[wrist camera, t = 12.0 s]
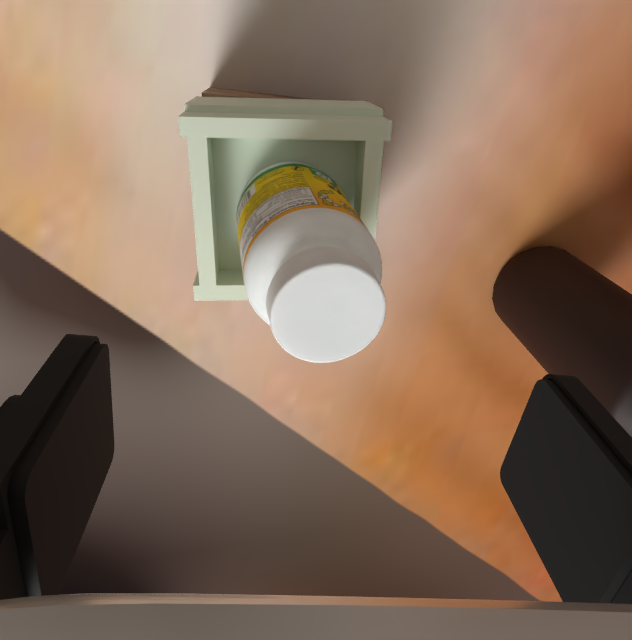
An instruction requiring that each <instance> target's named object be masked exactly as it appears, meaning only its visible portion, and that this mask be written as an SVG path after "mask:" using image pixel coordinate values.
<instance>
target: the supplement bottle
mask: <svg viewBox="0 0 632 640" xmlns="http://www.w3.org/2000/svg"><path fill="white" fill-rule="evenodd" d="M236 228H237V235H238V242H239V248H240V256H241V265H242V273H243V280H244V286H245V290H246V294H247V297H248V299H249V301H250V303H251V305H252V307H253V309H254V310H255V311H256V313H257V314H258V315H259V316H260V317H261V318H262V319H263V320H264V321H265V322H266V323H267V324H269V325H270V326H271V329H272V332H273V334H274V337H275V338H276V340H277V342H278V343H279V344H280V345H281V347H282V348H283V349H284V350H286V351H287V352H288V353H290V354H291V355H293V356H295V357H297V358H299V359H302V360H305V361H309V362H316V363H326V362H334V361H339V360H342V359H345V358H348V357H350V356H352V355H354V354H356V353H358V352H359V351H361V350H362V349H363V348H365V347H366V346H367V345H368V344H369V343H370V342H371V341H372V340H373V339H374V338H375V337H376V335H377V334H378V332H379V330H380V329H381V326H382V324H383V321H384V319H385V314H386V300H385V295H384V292H383V289H382V287H381V285H380V283H381V277H382V261H381V256H380V252H379V249H378V246H377V244H376V242H375V240H374V238H373V236H372V235H371V233H370V232H369V230H368V229H367V227H366V226H365V224H364V223H363V222H362V220H361V219H360V217H359V216H358V215H357V213H356V212H355V210H354V209H353V207H352V206H351V204H350V203H349V201H348V200H347V198H346V197H345V196H344V194H343V193H342V191H341V189H340V188H339V187H338V185H337V184H336V183H335V182H334V181H333V179H332V178H331V177H330V176H328V175H327V174H326V173H324V172H323V171H321V170H319V169H318V168H316V167H314V166H312V165H309V164H306V163H302V162H298V161H286V162H280V163H277V164H274V165H271V166H269V167H267V168H265V169H263V170H261V171H260V172H258V173H257V174H256V175H255V176H254V177H253V178H252V179H251V180H250V181H249V182H248V183H247V185H246V186H245V187H244V189H243V191H242V193H241V195H240V197H239V200H238V204H237V208H236Z"/></svg>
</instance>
